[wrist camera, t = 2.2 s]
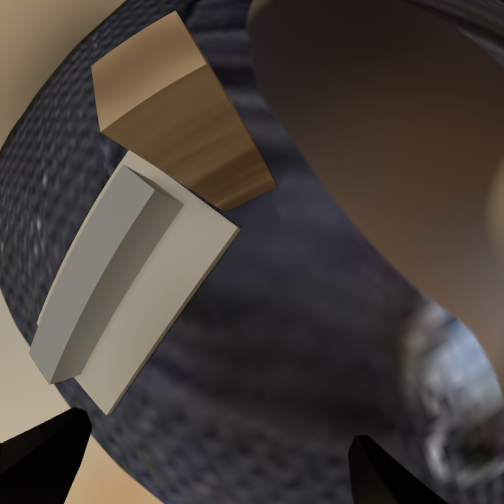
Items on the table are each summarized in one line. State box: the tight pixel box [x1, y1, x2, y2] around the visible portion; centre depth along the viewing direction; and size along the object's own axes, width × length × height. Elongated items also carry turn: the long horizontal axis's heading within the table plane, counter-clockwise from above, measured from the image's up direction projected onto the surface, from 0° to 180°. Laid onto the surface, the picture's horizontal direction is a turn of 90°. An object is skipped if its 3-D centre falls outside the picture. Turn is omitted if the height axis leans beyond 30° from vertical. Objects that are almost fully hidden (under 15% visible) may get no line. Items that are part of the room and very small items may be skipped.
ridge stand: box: [29, 150, 241, 415], centre depth 20 cm, size 12×20×5 cm, turn 143°
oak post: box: [92, 11, 277, 212], centre depth 14 cm, size 4×4×13 cm
